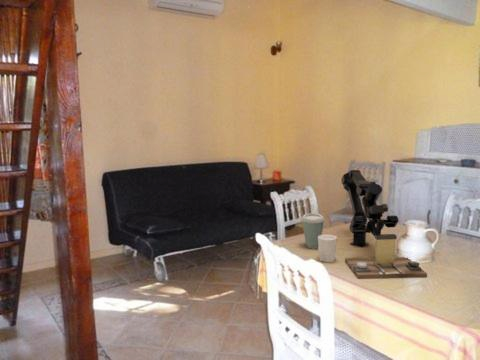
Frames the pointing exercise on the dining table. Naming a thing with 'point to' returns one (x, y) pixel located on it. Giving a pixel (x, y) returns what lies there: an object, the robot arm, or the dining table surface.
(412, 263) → the black rocker switch
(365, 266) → the grey push button
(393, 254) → the yellow upright block
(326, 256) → the white cup
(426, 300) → the dining table surface
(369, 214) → the robot arm
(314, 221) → the disposable coffee cup
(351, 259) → the control panel
